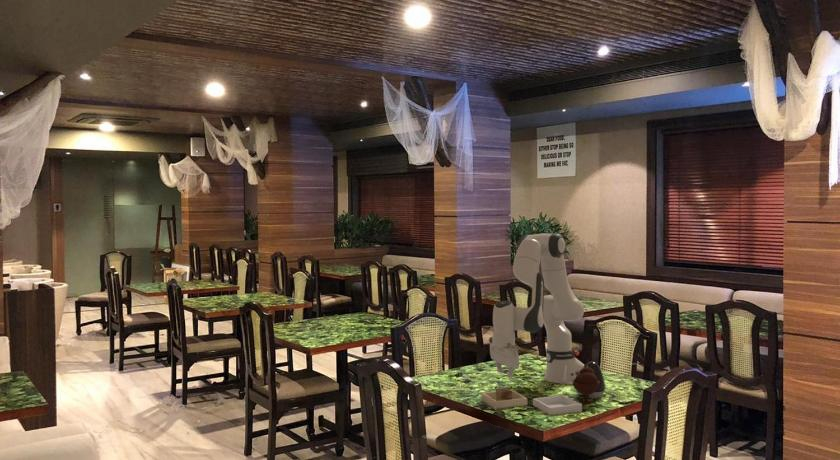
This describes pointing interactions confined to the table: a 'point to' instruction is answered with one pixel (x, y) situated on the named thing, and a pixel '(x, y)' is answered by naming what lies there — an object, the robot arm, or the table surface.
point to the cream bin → (491, 401)
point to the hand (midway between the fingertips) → (504, 374)
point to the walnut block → (503, 394)
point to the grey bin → (557, 405)
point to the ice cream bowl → (586, 383)
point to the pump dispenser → (599, 375)
